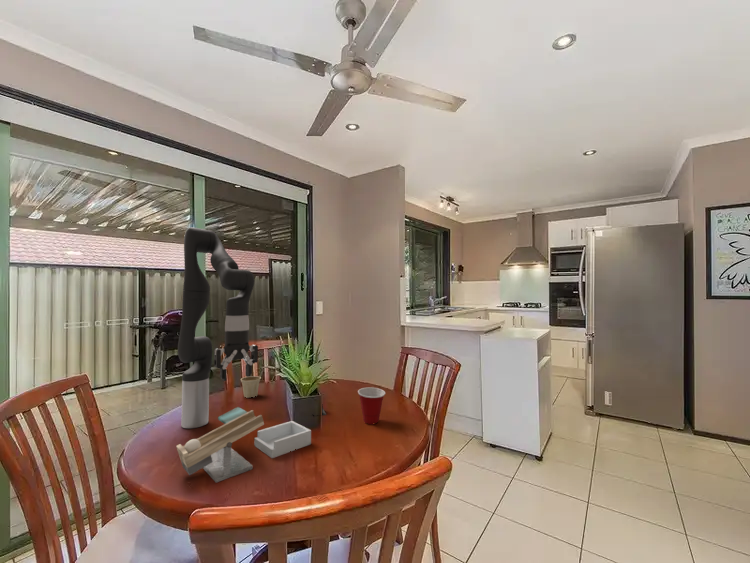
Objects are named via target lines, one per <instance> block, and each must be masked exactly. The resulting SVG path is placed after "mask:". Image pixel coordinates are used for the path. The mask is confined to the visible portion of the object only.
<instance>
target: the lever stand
mask: <svg viewBox="0 0 750 563" xmlns="http://www.w3.org/2000/svg"><path fill="white" fill-rule="evenodd" d="M211 458H212V461H213V462H212V463H210V464H208V465H207V466H205V467H203V468H202V469H203V470H204V472H206V473H207V474H208V476H209V477H210V478H211V479H212V480H213V481H214V483H215V484H216V483H219V482H221V481H225V480H226V479H230V478H232V477H235V476H238V475H240V474H243V473H247V472H248V471H251V470H253V464H252V463H250V462H249V461H248V460H246V459H245V458H244V457H243V456H242V455H241V454H239V453H238V451H236V450H234V449H233V448H232V446H231V447H230V448H228V447H227V446H226V447H224V448H222V449H220V450H219V451H217V452H215V453H213V454H212V455H211Z"/></svg>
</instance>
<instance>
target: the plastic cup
mask: <svg viewBox="0 0 750 563" xmlns="http://www.w3.org/2000/svg"><path fill="white" fill-rule="evenodd" d="M357 394H358V396H359V400H360V407H361V412H362V418H363V422H365V423H364V424H366V423H368V424H367V425H374V424H373V423H377V422H378V421H380V415H381V412H382V407H383V406H382V405H383V401H384V398H385V395H386V391H385V390H383V389H381V388H378V387H373V386H372V387H371V386H370V387H362V388H359V389H358V390H357ZM378 423H379V422H378ZM378 423H377V424H378Z"/></svg>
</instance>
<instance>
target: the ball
mask: <svg viewBox="0 0 750 563" xmlns="http://www.w3.org/2000/svg"><path fill="white" fill-rule="evenodd" d="M197 439H198V438H192V439H190V440H188V441H187V442H186V443H185V444H184V445H185V447H184V449H185V450H186V451H187V452H188V454H189V453H191V452H193V451H195V450H197V449H198V448H200V447H201V443H200V441H199V440H197Z"/></svg>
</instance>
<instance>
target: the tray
mask: <svg viewBox="0 0 750 563" xmlns="http://www.w3.org/2000/svg"><path fill="white" fill-rule="evenodd" d="M253 444H254V447H255V448H257V449H258V450H260V451H261V452H262V453H263V454H265V455H266V456H268V457H269V458H271V459H274V458H277V457H280V456H283V455H285V454H288V453H290V451H291V452H293V451H296V450H298V449H301V448H304V447H308V446H310V445H311V444H312V430H311V429H310V428H308V427H305V426H304V425H301V424H299V423H297V422H296V421H293V420H290V421H287V422H283V423H280V424H276V425H273V426H270V427H266V428H263V429H260V430H257V437H254V443H253ZM295 449H296V450H295Z"/></svg>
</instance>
